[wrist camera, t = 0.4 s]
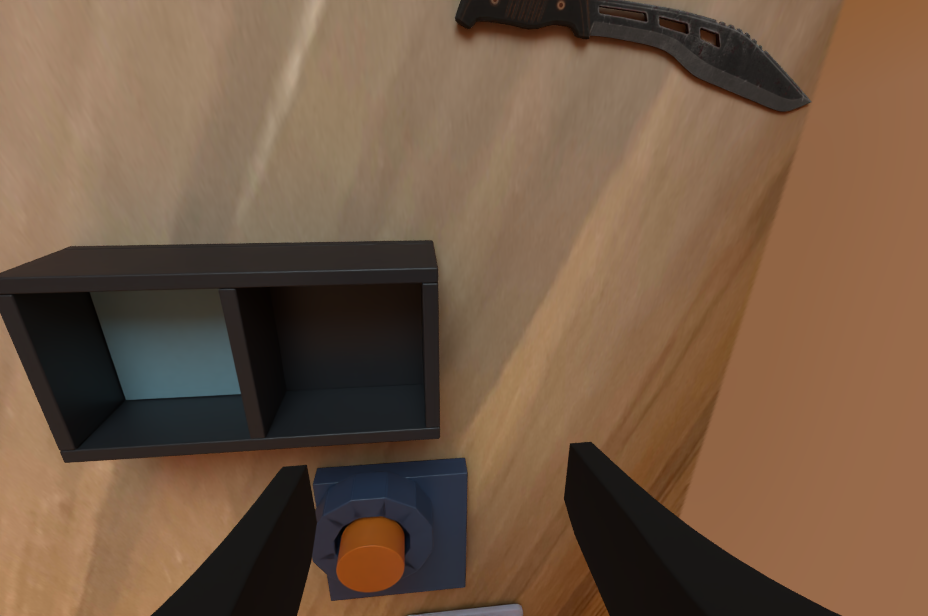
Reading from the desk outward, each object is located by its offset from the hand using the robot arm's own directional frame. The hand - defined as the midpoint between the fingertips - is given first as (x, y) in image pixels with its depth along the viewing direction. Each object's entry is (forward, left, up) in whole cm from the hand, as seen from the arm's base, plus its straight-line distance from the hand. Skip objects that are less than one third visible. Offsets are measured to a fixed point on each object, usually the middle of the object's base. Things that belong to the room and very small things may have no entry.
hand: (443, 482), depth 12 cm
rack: (0, +7, -10) cm, 12 cm away
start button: (-11, +3, -7) cm, 13 cm away
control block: (-13, +2, -10) cm, 16 cm away
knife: (+10, -9, -10) cm, 17 cm away
